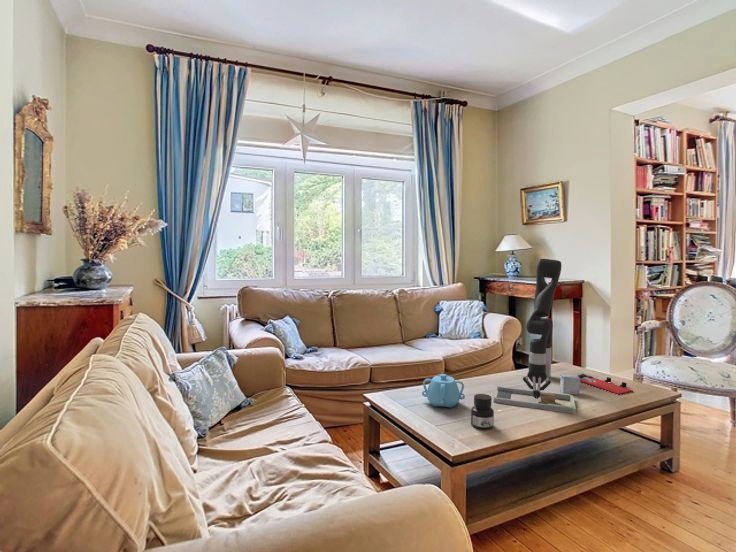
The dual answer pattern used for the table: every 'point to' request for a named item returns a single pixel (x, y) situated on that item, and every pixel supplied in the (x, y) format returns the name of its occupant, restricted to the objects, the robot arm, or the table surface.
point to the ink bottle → (482, 412)
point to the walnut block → (547, 398)
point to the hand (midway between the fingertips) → (536, 398)
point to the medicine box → (570, 384)
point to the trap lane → (505, 394)
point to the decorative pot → (443, 391)
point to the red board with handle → (604, 384)
